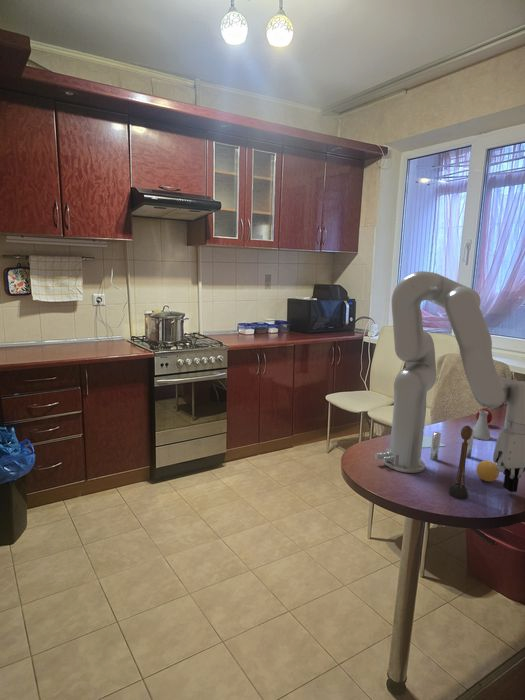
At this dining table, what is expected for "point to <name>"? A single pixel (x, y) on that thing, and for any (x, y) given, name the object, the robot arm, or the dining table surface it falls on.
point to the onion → (489, 416)
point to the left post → (435, 446)
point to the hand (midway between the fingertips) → (509, 489)
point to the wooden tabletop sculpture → (461, 467)
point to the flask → (482, 427)
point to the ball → (487, 470)
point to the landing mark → (428, 442)
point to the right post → (470, 446)
